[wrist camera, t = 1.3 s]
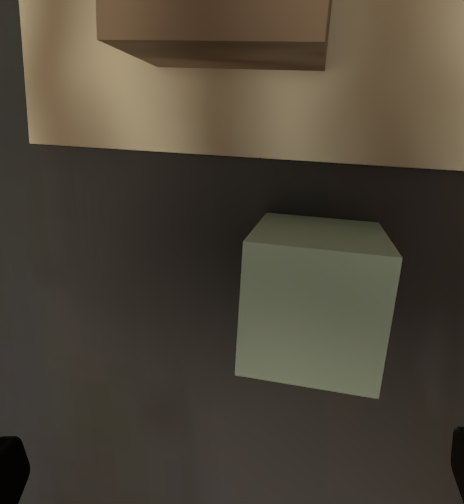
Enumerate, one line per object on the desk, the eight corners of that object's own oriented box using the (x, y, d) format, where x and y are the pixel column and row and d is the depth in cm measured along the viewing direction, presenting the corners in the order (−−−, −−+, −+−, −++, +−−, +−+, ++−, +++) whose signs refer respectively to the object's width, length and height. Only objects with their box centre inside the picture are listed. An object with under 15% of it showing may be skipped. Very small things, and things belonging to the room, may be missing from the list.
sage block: (378, 222, 18) (402, 257, 13) (362, 325, 20) (378, 399, 14) (266, 212, 19) (243, 241, 14) (259, 311, 21) (234, 375, 15)
